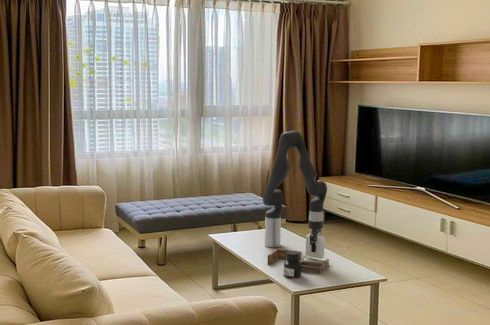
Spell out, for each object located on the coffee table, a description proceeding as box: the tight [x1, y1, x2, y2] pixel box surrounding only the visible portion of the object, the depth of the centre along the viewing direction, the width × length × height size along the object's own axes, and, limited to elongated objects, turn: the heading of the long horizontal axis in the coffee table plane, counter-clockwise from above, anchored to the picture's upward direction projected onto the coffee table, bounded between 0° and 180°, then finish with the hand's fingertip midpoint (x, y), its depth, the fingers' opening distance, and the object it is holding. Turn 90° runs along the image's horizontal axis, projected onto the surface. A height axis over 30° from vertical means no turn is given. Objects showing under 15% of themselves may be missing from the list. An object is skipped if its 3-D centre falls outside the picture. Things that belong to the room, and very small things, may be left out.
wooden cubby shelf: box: [267, 247, 302, 265], centre depth 318 cm, size 14×14×5 cm
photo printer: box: [304, 233, 326, 259], centre depth 313 cm, size 10×4×12 cm, turn 56°
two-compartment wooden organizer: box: [300, 255, 330, 275], centre depth 311 cm, size 17×13×3 cm
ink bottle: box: [283, 250, 303, 279], centre depth 297 cm, size 10×9×12 cm
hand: (314, 250), depth 314 cm, fingers closed on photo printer, 4 cm apart
